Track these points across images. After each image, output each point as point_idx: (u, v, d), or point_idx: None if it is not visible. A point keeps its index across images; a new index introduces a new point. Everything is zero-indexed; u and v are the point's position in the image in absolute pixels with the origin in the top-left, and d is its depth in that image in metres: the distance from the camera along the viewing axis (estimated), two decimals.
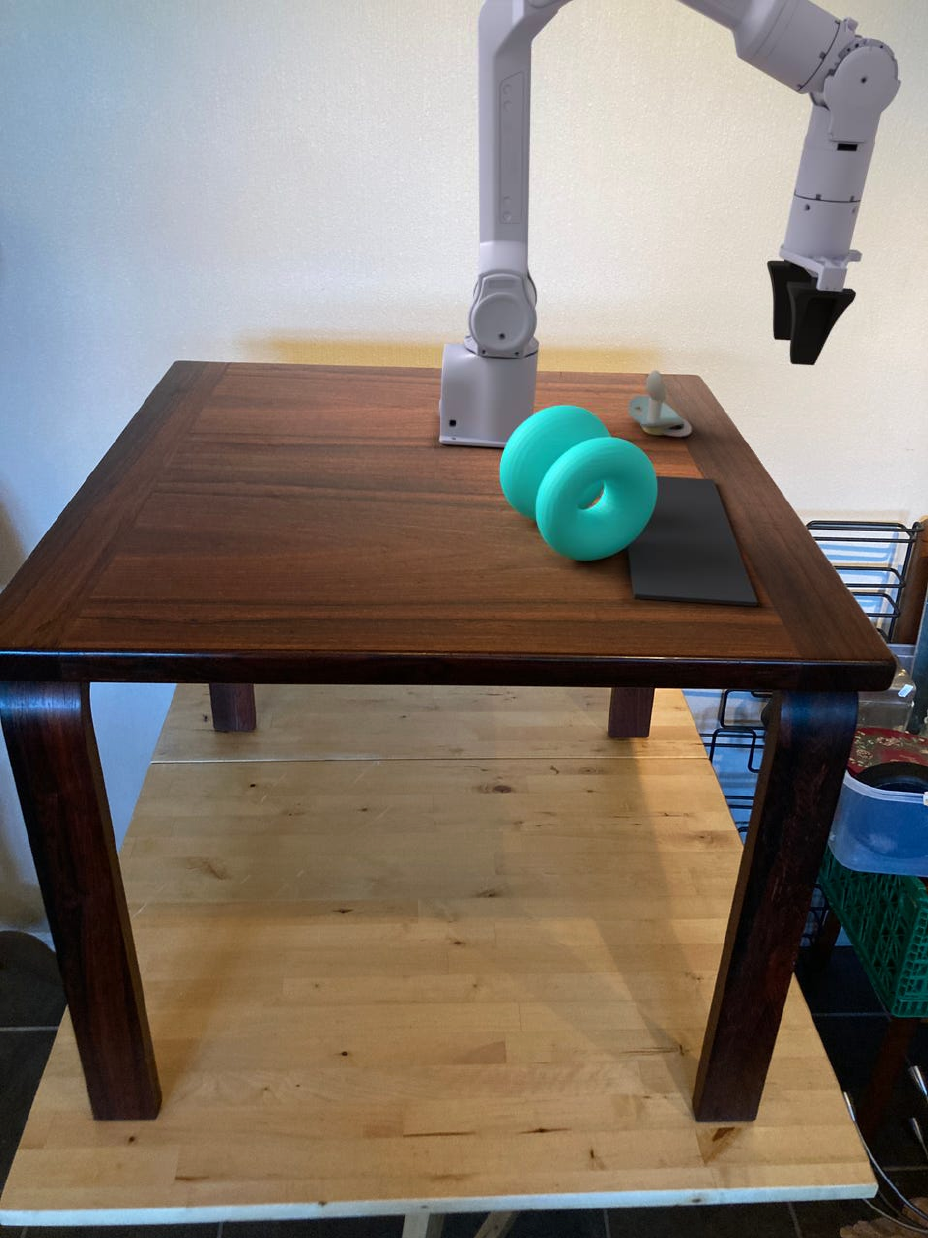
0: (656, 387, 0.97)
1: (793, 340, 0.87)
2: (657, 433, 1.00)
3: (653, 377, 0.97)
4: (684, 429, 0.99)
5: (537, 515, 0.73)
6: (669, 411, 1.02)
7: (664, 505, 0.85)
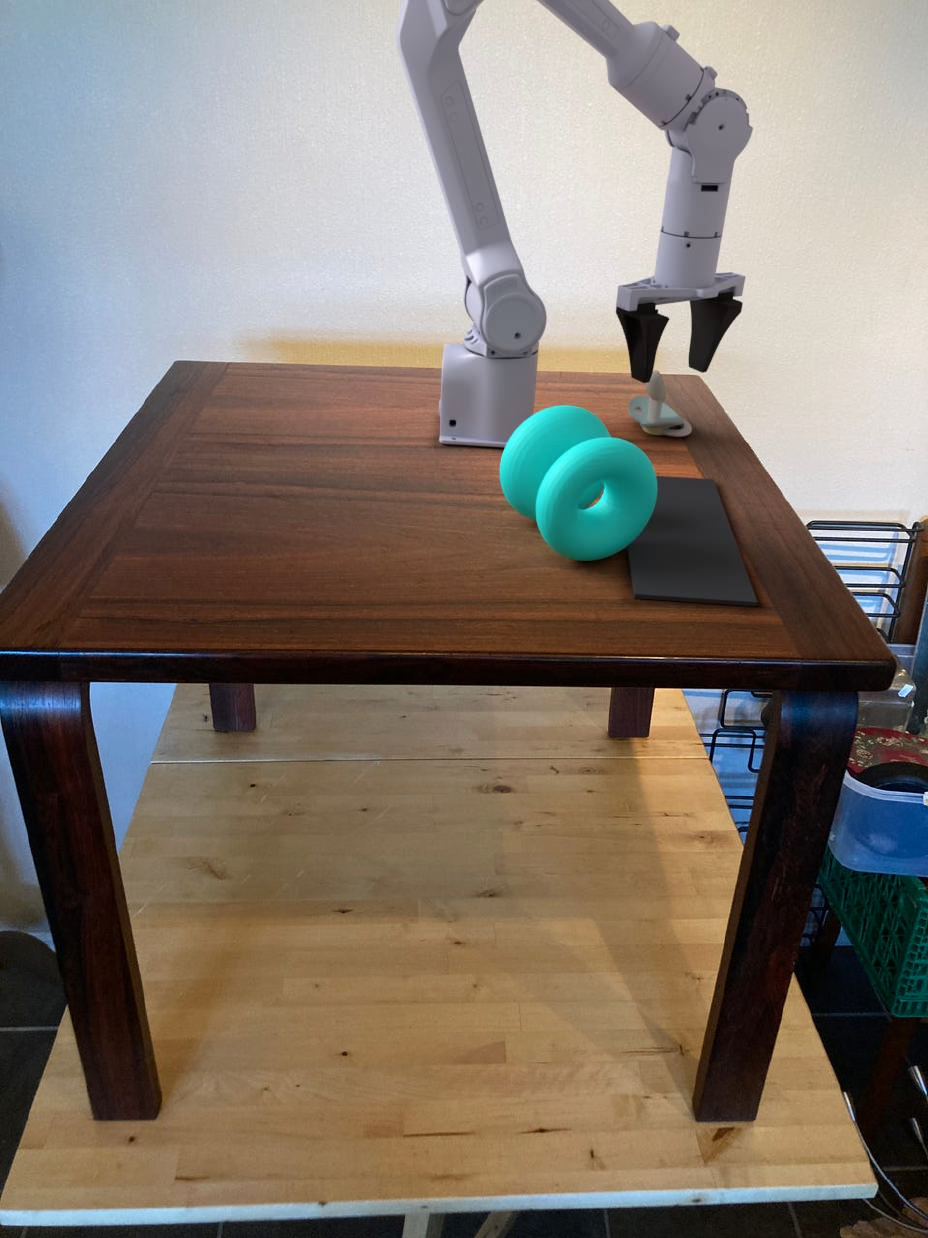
0: (656, 387, 0.97)
1: (629, 354, 0.96)
2: (657, 433, 1.00)
3: (653, 377, 0.97)
4: (684, 429, 0.99)
5: (537, 515, 0.73)
6: (669, 411, 1.02)
7: (664, 505, 0.85)
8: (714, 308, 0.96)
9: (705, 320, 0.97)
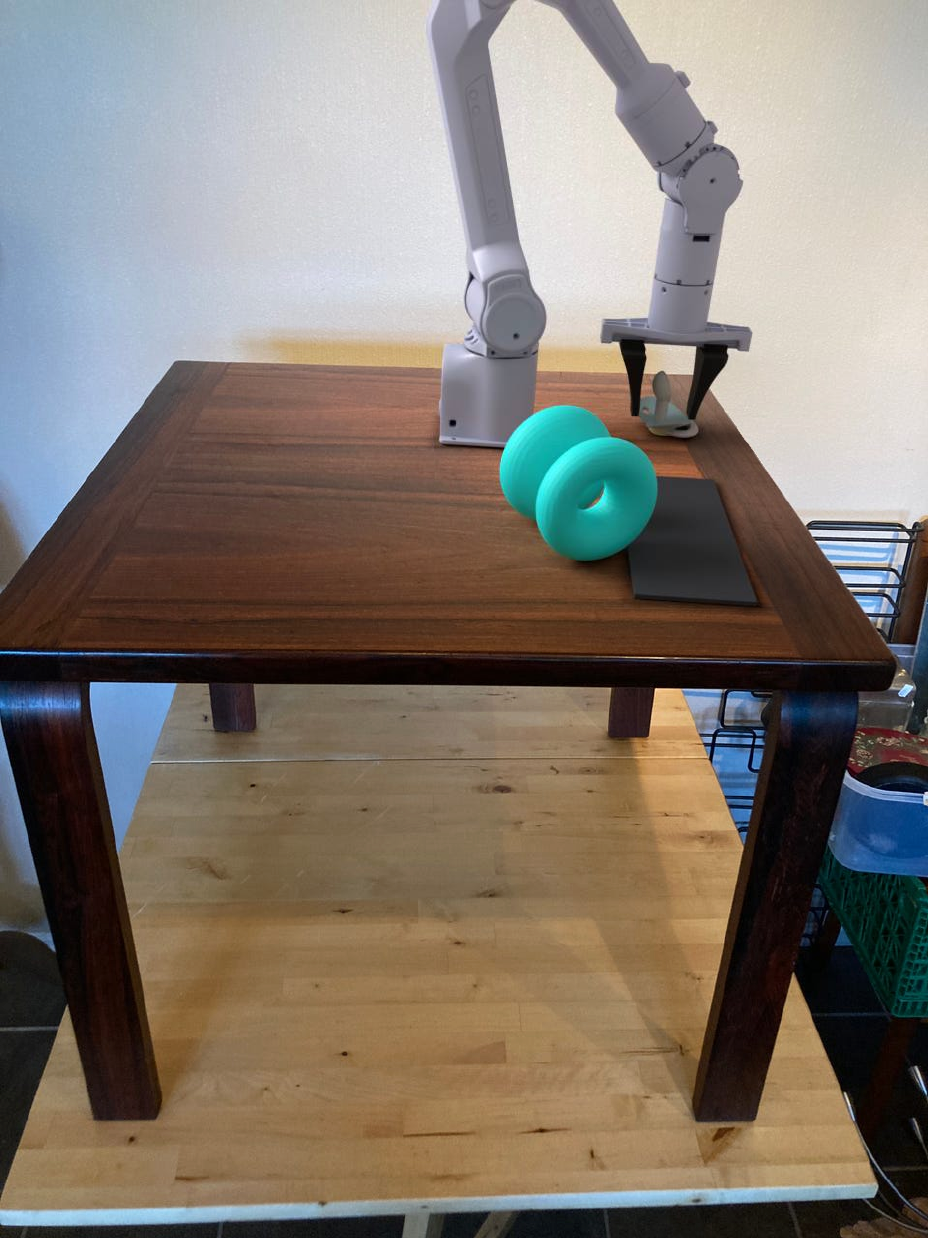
0: (662, 387, 0.97)
1: (702, 400, 0.98)
2: (663, 434, 0.99)
3: (659, 377, 0.97)
4: (690, 430, 0.99)
5: (537, 515, 0.73)
6: (676, 412, 1.02)
7: (664, 505, 0.85)
8: None
9: None
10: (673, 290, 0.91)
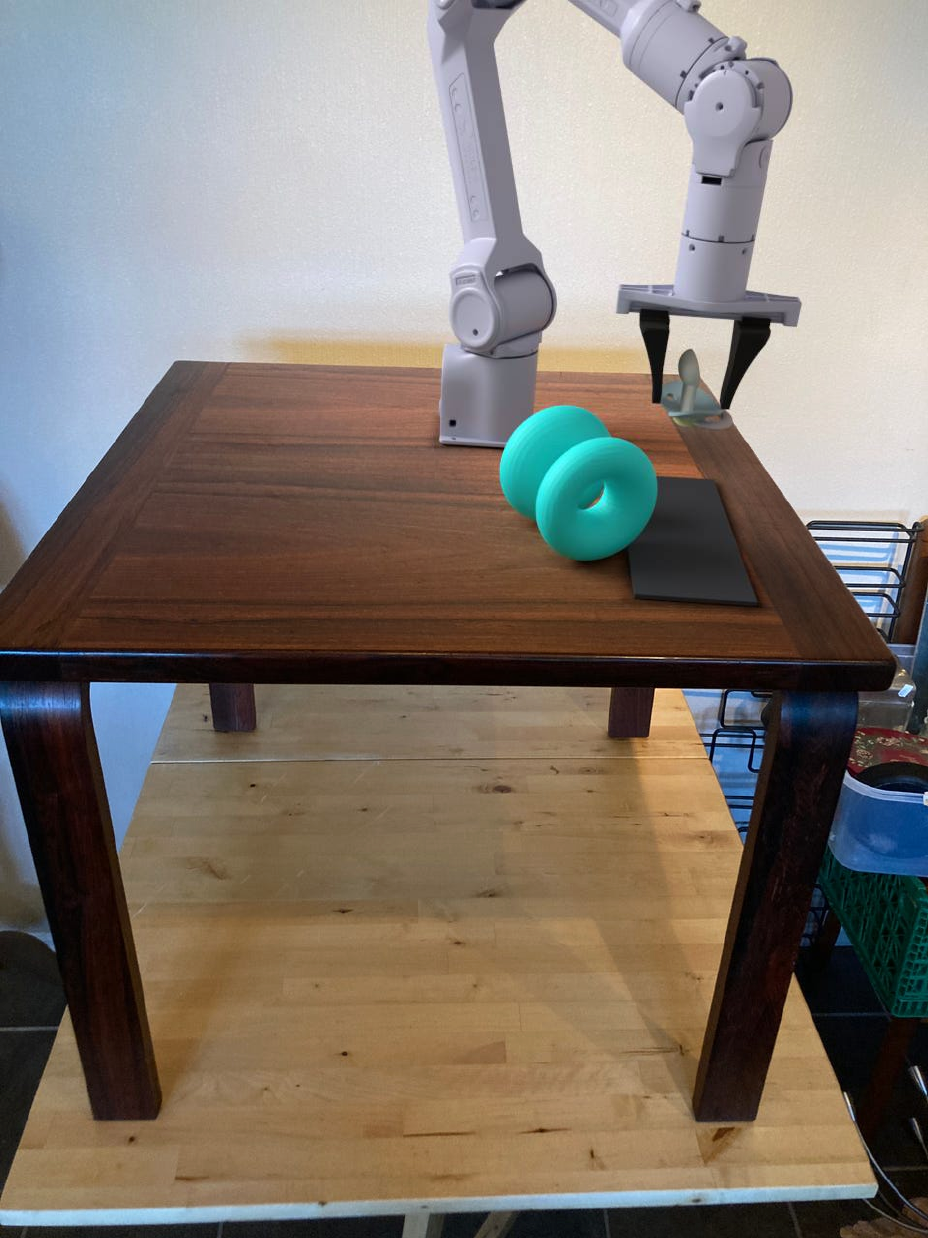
0: (688, 368, 0.80)
1: (737, 386, 0.81)
2: (689, 425, 0.83)
3: (686, 356, 0.81)
4: (722, 421, 0.82)
5: (537, 515, 0.73)
6: (708, 400, 0.85)
7: (664, 505, 0.85)
8: None
9: None
10: (703, 248, 0.75)
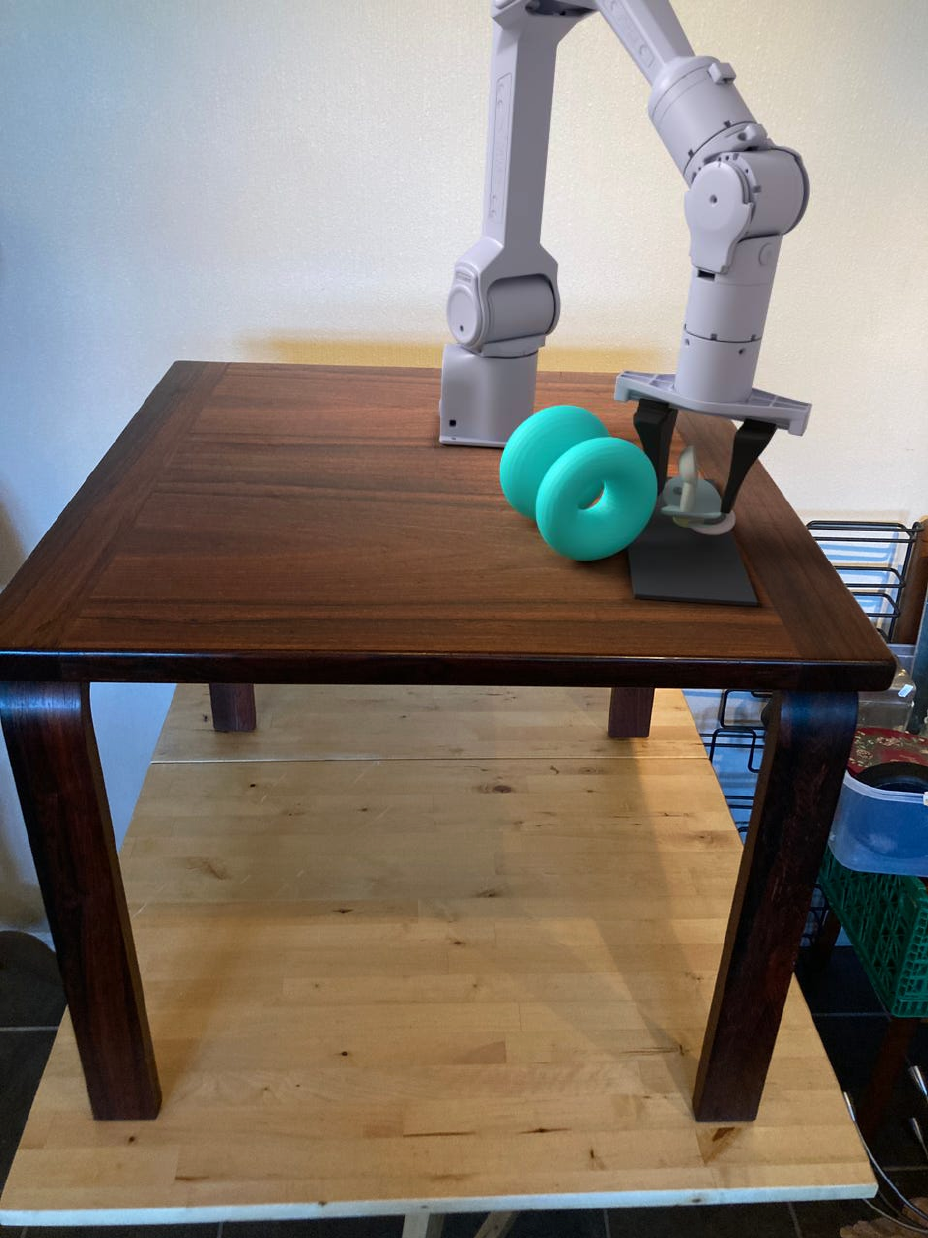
0: (684, 466, 0.75)
1: (736, 491, 0.75)
2: (682, 524, 0.77)
3: (684, 453, 0.76)
4: (717, 526, 0.76)
5: (537, 515, 0.73)
6: (715, 499, 0.79)
7: (664, 505, 0.85)
8: (673, 413, 0.77)
9: (668, 434, 0.77)
10: (696, 344, 0.70)
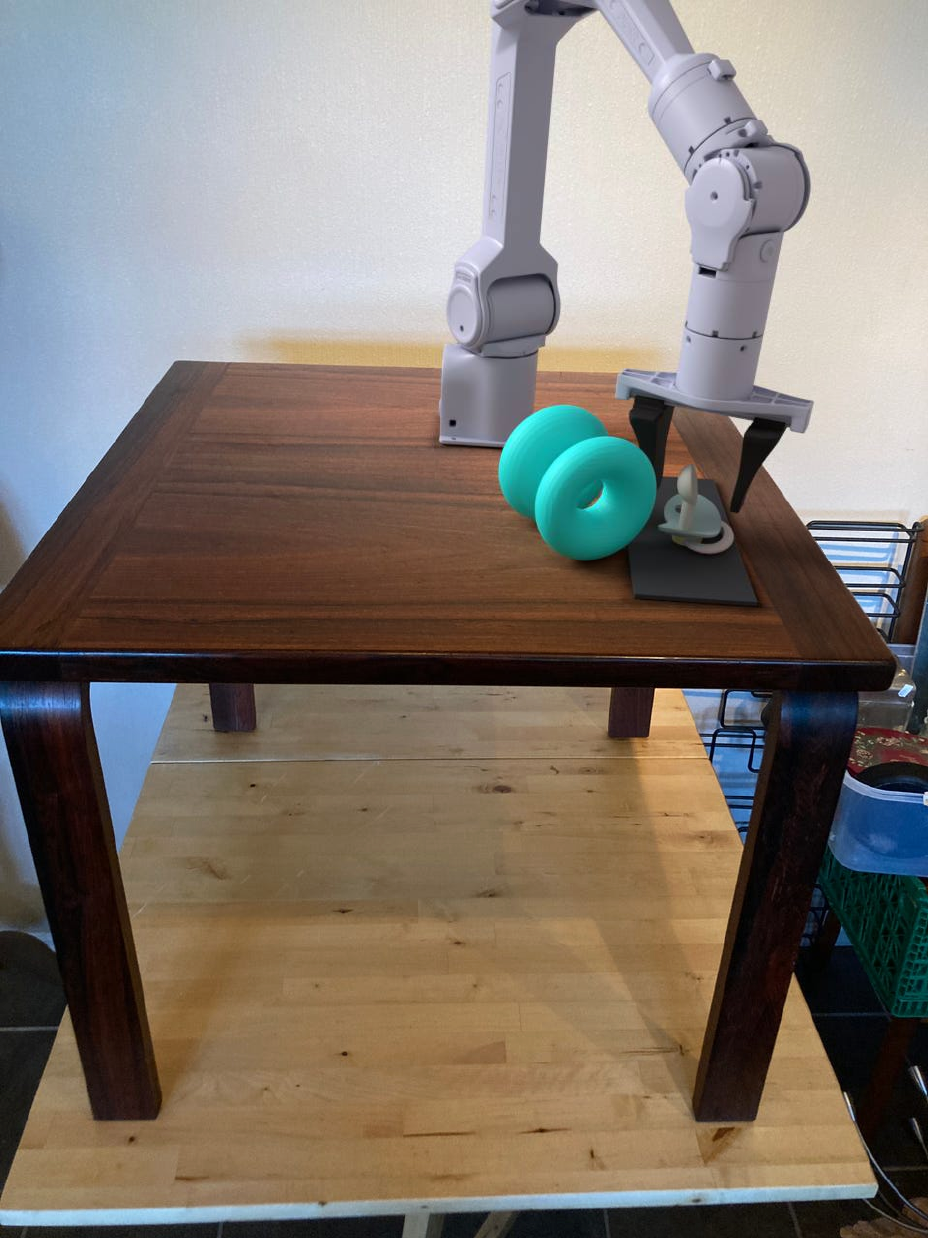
0: (682, 484, 0.76)
1: (745, 490, 0.74)
2: (679, 542, 0.78)
3: (682, 471, 0.77)
4: (712, 545, 0.77)
5: (536, 515, 0.73)
6: (716, 519, 0.80)
7: (664, 505, 0.85)
8: (669, 410, 0.77)
9: (663, 431, 0.77)
10: (697, 341, 0.70)
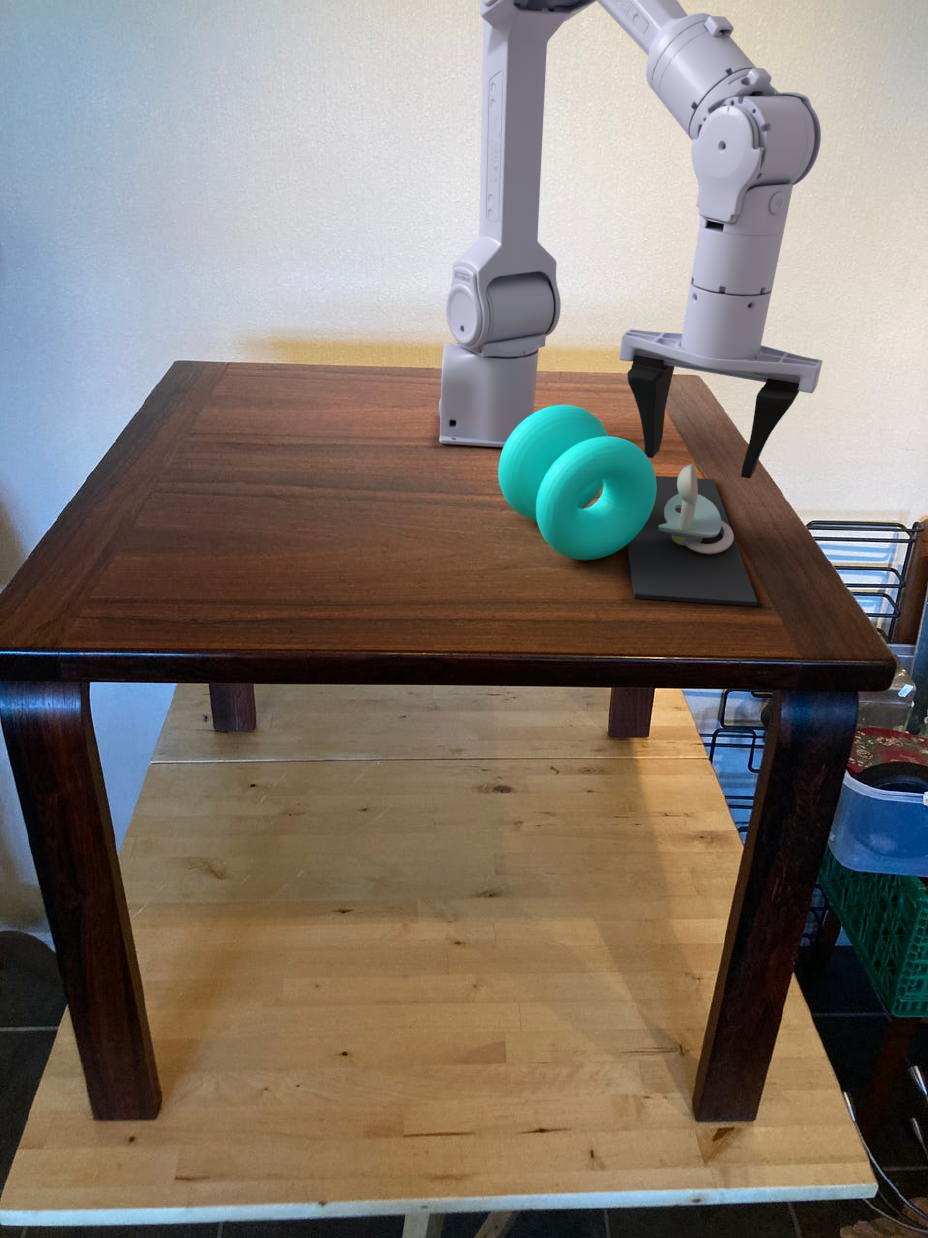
0: (682, 484, 0.76)
1: (758, 454, 0.73)
2: (679, 542, 0.78)
3: (682, 471, 0.77)
4: (712, 545, 0.77)
5: (537, 515, 0.73)
6: (716, 519, 0.80)
7: (664, 505, 0.85)
8: (669, 371, 0.75)
9: (663, 392, 0.75)
10: (704, 298, 0.68)
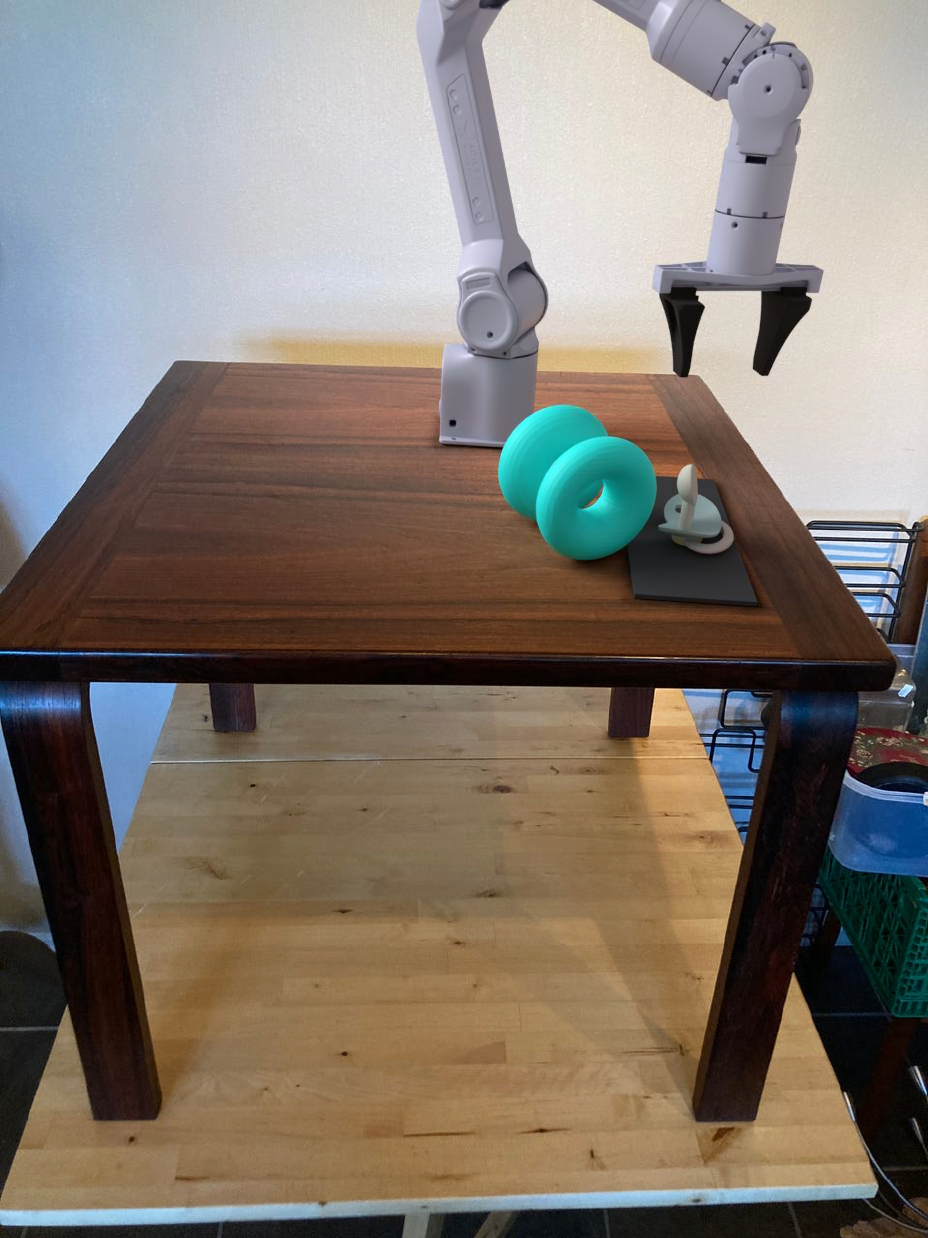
0: (682, 484, 0.76)
1: (778, 352, 0.86)
2: (679, 542, 0.78)
3: (682, 471, 0.77)
4: (712, 545, 0.77)
5: (537, 515, 0.73)
6: (716, 519, 0.80)
7: (664, 505, 0.85)
8: None
9: None
10: (747, 224, 0.78)
